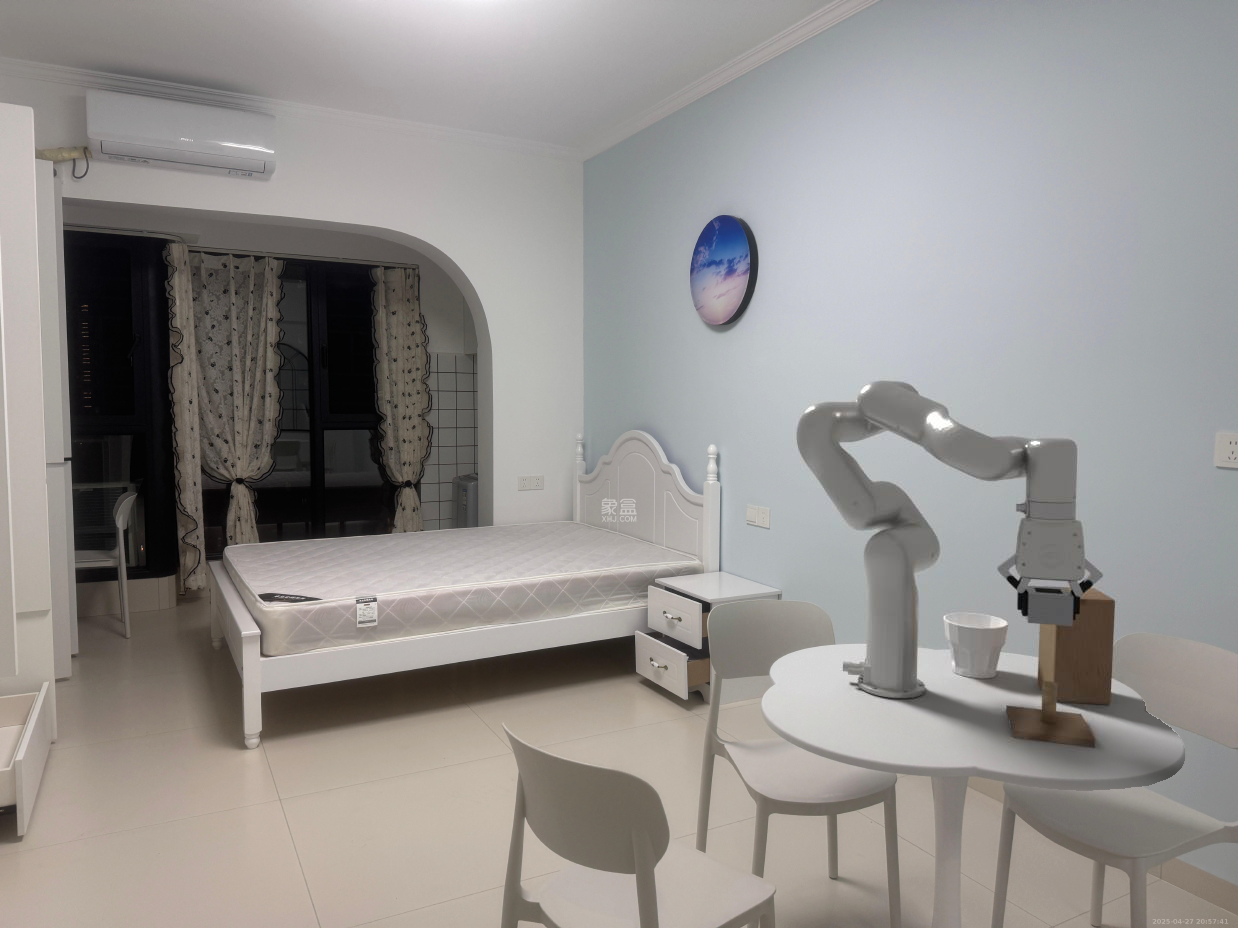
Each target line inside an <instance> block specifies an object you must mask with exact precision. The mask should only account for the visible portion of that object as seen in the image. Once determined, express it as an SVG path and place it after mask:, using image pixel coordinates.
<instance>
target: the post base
mask: <svg viewBox="0 0 1238 928" xmlns="http://www.w3.org/2000/svg"><path fill="white" fill-rule="evenodd" d="M1041 689H1042V690H1041V693H1042V694H1041V695H1042V696H1041V708H1034V707H1024V706H1016V705H1005V712H1006V716H1007V719H1008V723H1009V726H1010V730H1011V733H1012V735H1013V737H1012V738H1017V739H1026V740H1031V741H1032V740H1033V741H1041V742H1049V743H1056V744H1057V743H1058V744H1063V745H1073V746H1081V747H1087V748H1096V738H1095V737H1094V735H1093V733H1092V731H1091V729H1090V727H1089V726H1088V724H1087V722H1086V721H1085V718H1084V716H1083V715H1082V713H1078V712H1077V713H1075V712H1069V711H1068V712H1067V711H1059V710H1057V683H1055V682H1051V681H1043V687H1042V688H1041Z"/></svg>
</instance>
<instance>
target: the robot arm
mask: <svg viewBox="0 0 1238 928" xmlns="http://www.w3.org/2000/svg"><path fill="white" fill-rule="evenodd" d="M885 432H891V433H892V434H895V435H897V436H899V437H901V438H904V439H906V440H907V441H910V442H912V443H913V444H916V445H917V446H920V447H921V448H923V449H924V450H925V451H926V453H929V454H931V456H933V458H935V459H936V460H938V461H940V462H941V463H942V464H945V465H946V466H949V467H950V468H953V469H955V470H957V471H959V472H962V473H964V474H966V475H967V476H971V477H972V478H975V479H977V480H980V481H986V482H998V481H1003V480H1013V479H1021V478H1025V501H1023V502H1021V503H1016V504H1015V511H1016V512H1020V513H1021V514H1024V517H1021V518H1020V522H1019V525H1018V532H1017V539H1016V545H1015V546H1016V547H1015V548H1016V549H1015V553H1014V554H1013V555H1011V556H1010V557H1008V559H1006V560H1005V561H1003V562H1002V563H1001V564H999V565H998V566H997V571H998V572H999V574H1000V575H1001V577H1003V578H1004V579H1005V580H1006V581H1007V582H1008V583H1009V584H1010V585H1011V586H1012V587H1013V589H1015V591H1017V593H1016V594H1017V598H1016V599H1017V601H1016V602H1017V603H1016V605H1017V606H1016V607H1017V611H1021V612H1020V613H1021V616H1022V617H1025V616H1027V592H1026V587H1027V586H1029V584H1030V582H1031V580H1039V581H1054V582H1055V581H1056V582H1057V581H1058V582H1067V584H1068V585H1069V587H1071V589H1072V590H1071V594H1072V595H1073V620H1076V614H1080V596H1082V595H1083V593H1084V592H1086V591H1087V590H1088V589H1090V588H1093V586H1094V585H1095V584H1096V583H1098V581H1100V580H1101V579H1102V578H1103V576H1104V574H1103V573H1102V572H1101V571H1100V570H1099V569H1098V568H1097V567H1096V566H1095V565H1093V564H1092V563H1091V562H1090V561H1089V560H1087V558H1086V556H1085V539H1084V530H1083V525H1082V521H1081V520H1079V519H1076V517H1077V479H1078V476H1077V475H1078V445H1077V443H1076V442H1075V441H1074V440H1072V439H1068V438H1059V437H1058V438H1057V437H1056V438H1054V437H1053V438H1052V437H1050V438H1048V437H1046V438H1035V439H1034V438H1027V437H1020V436H1013V435H1012V436H1009V435H1008V436H990V435H987V434H984V433H981V432H979V431H977V430H974V429H973V428H970V427H968V426H966V425H964V424H961V423H960V422H958V421H956V420H955V419H954V418H952V417H951V416H950V414H949V410H948V408H947V407H946V405H943V404H942V403H939V402H937V401H935V400H932V399H930V398H928V397H925V396H923V395H920V393H919V391H918V390H917V389H916V387H914V386H912V384H909V383H908V382H905V381H899V380H898V381H897V380H895V381H894V380H876V381H873V382H870V383H868V384H866V385H865V386H864V387H862V389H861V390H860V392H859V393H858V396H857V399H856V400H853V401H824V402H818V403H816V404H813V405H811V406H809V407H808V408H807V409H806V410H805V411H803V413H802V414H801V416H800V418H799V420H798V423H797V427H796V445H797V449H798V451H799V454H800V457H801V458H802V459H803V461H804V463H805V464H806V466H807V467H808V469H810V471H811V472H812V474H813V475H814V476H815V478H816V480H818V482H819V483H820V486H822V488H823V490H824V492H825V493H826V495H827V496H828V498H829V499H830V501H831V502H832V503H833V504H834V506H835V508H836V509H837V511H838V512H839V514H840V515H841V516H842V518H843V521H845V522H846V524H847V525H848V526H849V527H850V528H852V529H854V530H855V531H856V530H857V531H862V532H864V531H872V530H873V531H874V530H877V529H878V530H879V531H877V532H876V533H874V534H873V535H872V536H871V537H870V538H869V539H868V541H866V544H865V546H864V549H863V550H864V551H863V563H864V569H865V576H866V589H867V591H866V592H867V596H866V597H867V600H866V601H867V602H866V603H867V605H866V607H867V608H866V611H867V612H866V616H867V617H866V619H867V620H866V651H865V653H866V655H865V659H864V661H859V662H858V663H857V662H856V663H855V662H854V663H853V662H852V661H851V662H850V661H842V662H843V663H842V672H847V674H848V675H850V676H851V675H852V676H858V677H857V686H858V687H859V688H860V689H862V690H863V691H865V692H867V693H869V694H871V695H876V696H879V697H883V698H892V699H911V698H912V699H913V698H916V697H920V696H922V695H923V694H925V693H926V685H925V683H924V682H923V680H921V679H918V652H919V651H918V646H919V644H918V643H919V615H920V614H919V608H920V607H919V606H920V605H919V604H920V602H919V601H920V600H919V591H918V587H917V586H918V585H917V583H916V579H915V573H919V572H923V571H925V570H928V569H929V568H931V567H933V566H934V565H935V564H936V562H937V561H938V560H939V557H940V553H941V546H940V542H939V539H938V537H937V534H936V533H935V531H934V529H933V528H932V526H931V525H930V524H929V523H928V521H927V520H926V518H925V517H924V515H923V514H922V513H921V511H920V510H919V509H918V508H917V506H916V504H915V503H914V502H913V501H912V499H911V497H910V496H909V495H908V494H907V493H906V492H905V490H903V489H902V488H901V487H900V486H898V485H897V484H895V483H893V482H890V481H883V480H881V481H879V480H878V481H872V480H871V479H870V477H869V476H868V475H867V474H866V472H864V470H863V469H862V467H861V466H860V465H859V463H858V461H857V460H856V459H855V458H854V457H853V456H852V454H850V453H849V452H847V450H846V449H844V447H842V445H841V444H840V443H855V442H859V441H863V440H866V439H868V438H872V437H874V436H876V435H879V434H883V433H885ZM1014 566H1015V570H1016V573H1017V574H1018V576H1019V579H1018V578H1017V577H1015V575H1013V574H1012V573H1011V571H1009V570H1010V569H1011V568H1013V567H1014ZM1086 571H1087V572H1089V575H1088V576H1087V578H1085V573H1086ZM1079 581H1081V582H1079Z"/></svg>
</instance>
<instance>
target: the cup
mask: <svg viewBox="0 0 1238 928" xmlns="http://www.w3.org/2000/svg"><path fill="white" fill-rule="evenodd" d="M943 625H944V634H945V638H946V640H947V642H948V645H949V653H950V659H951V671H952V672H954V674H955V675H959V676H962V677H966V678H970V679H983V680H985V679H986V680H987V679H991V678H994V677H996V676H997V668H998V663H999V659H1000V655H1001V651H1002V649H1003V648H1004V646H1005V644H1006V640H1007V634H1008V628H1009V623H1008V621H1006V620H1004V618H1002V617H1001V618H1000V617H997V616H993V615H990V614H989V615H988V614H983V613H975V612H953V613H948V614H945V615H943Z"/></svg>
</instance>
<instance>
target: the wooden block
mask: <svg viewBox="0 0 1238 928" xmlns="http://www.w3.org/2000/svg"><path fill="white" fill-rule="evenodd" d="M1042 587H1053V586H1051V585H1050V586H1049V585H1044V586H1042ZM1057 587H1058V588H1068V589H1069V591H1070V592H1071V590H1072V589H1071V587H1070V586H1057ZM1115 608H1116V601H1115V599H1114V598H1112V597H1110V596H1109V595H1106V593H1103V592H1101V591H1100V590H1099V589H1096V588H1093V587H1091V588H1090V589H1088V590H1087V591H1086V592H1084V593H1083V595H1082V596H1080V614H1076V620H1073V626H1062V625H1049V624H1039V632H1038V634H1039V636H1038V661H1037V663H1038V664H1037V684H1038V686H1039V687H1040V688H1041V689H1042V687H1043V681H1051V682H1055V683H1057V702H1058V703H1059V702H1060V703H1070V704H1071V703H1073V704H1074V703H1075V704H1087V705H1102V706H1109V705H1111V702H1112V701H1111V700H1112V699H1111V698H1112V682H1113V681H1112V679H1113V659H1114V658H1113V657H1114V655H1113V654H1114V634H1115V633H1114V632H1115V613H1116V611H1115V610H1116V609H1115ZM1057 702H1056V703H1057Z"/></svg>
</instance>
